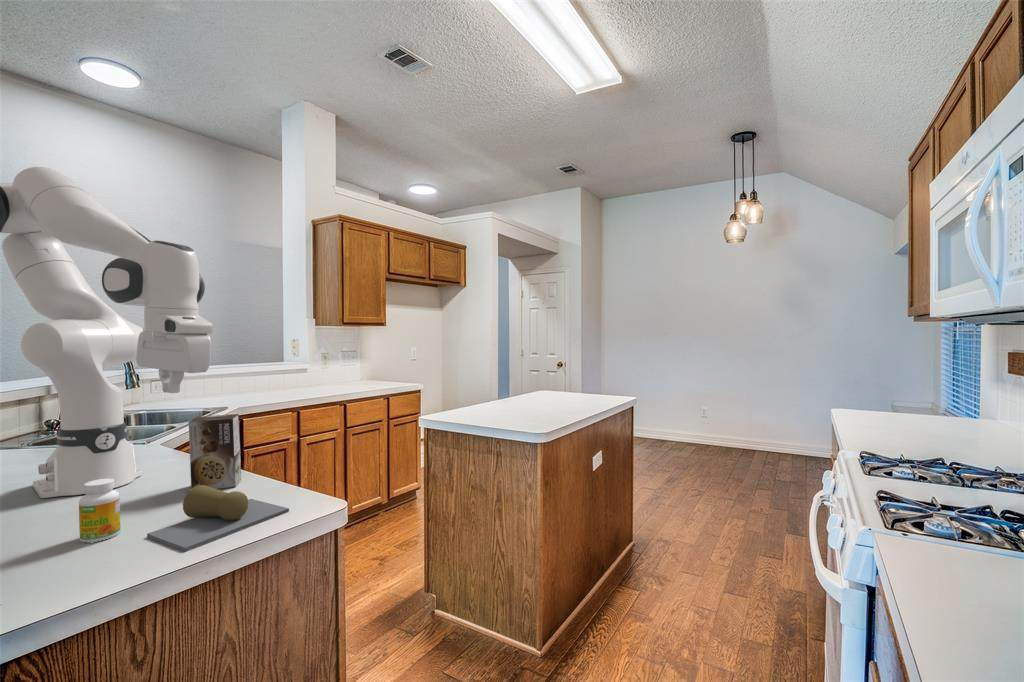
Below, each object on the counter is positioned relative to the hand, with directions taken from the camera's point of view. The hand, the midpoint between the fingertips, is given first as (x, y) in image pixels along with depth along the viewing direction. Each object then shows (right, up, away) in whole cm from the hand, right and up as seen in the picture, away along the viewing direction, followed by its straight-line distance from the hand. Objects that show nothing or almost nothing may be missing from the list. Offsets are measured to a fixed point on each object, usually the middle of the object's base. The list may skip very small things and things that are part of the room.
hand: (171, 392), depth 94 cm
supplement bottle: (-4, -24, -12) cm, 27 cm away
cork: (+7, -21, -3) cm, 22 cm away
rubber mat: (+14, -24, -6) cm, 28 cm away
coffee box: (-1, -24, +16) cm, 28 cm away
